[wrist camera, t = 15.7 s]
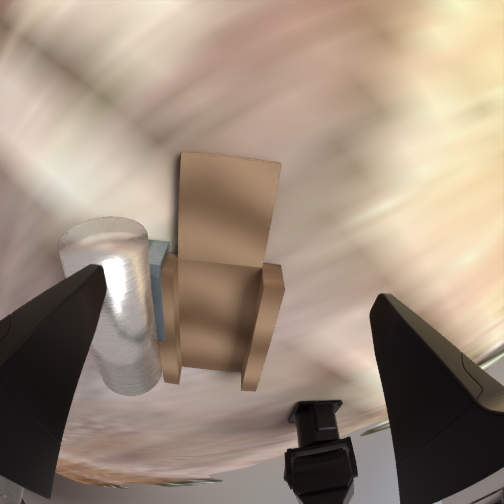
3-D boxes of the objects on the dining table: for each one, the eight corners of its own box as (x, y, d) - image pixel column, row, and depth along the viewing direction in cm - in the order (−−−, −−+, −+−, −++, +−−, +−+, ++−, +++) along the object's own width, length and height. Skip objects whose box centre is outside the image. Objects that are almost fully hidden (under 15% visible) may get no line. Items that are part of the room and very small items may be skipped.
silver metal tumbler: (167, 349, 25) (155, 401, 20) (111, 339, 25) (92, 387, 20) (158, 220, 18) (129, 273, 13) (84, 214, 18) (41, 259, 13)
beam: (254, 368, 30) (255, 391, 28) (169, 360, 30) (164, 382, 27) (302, 166, 19) (311, 180, 16) (161, 150, 18) (147, 162, 15)
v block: (172, 316, 26) (165, 341, 23) (112, 307, 25) (102, 330, 23) (169, 242, 22) (159, 265, 19) (98, 234, 21) (83, 255, 19)
